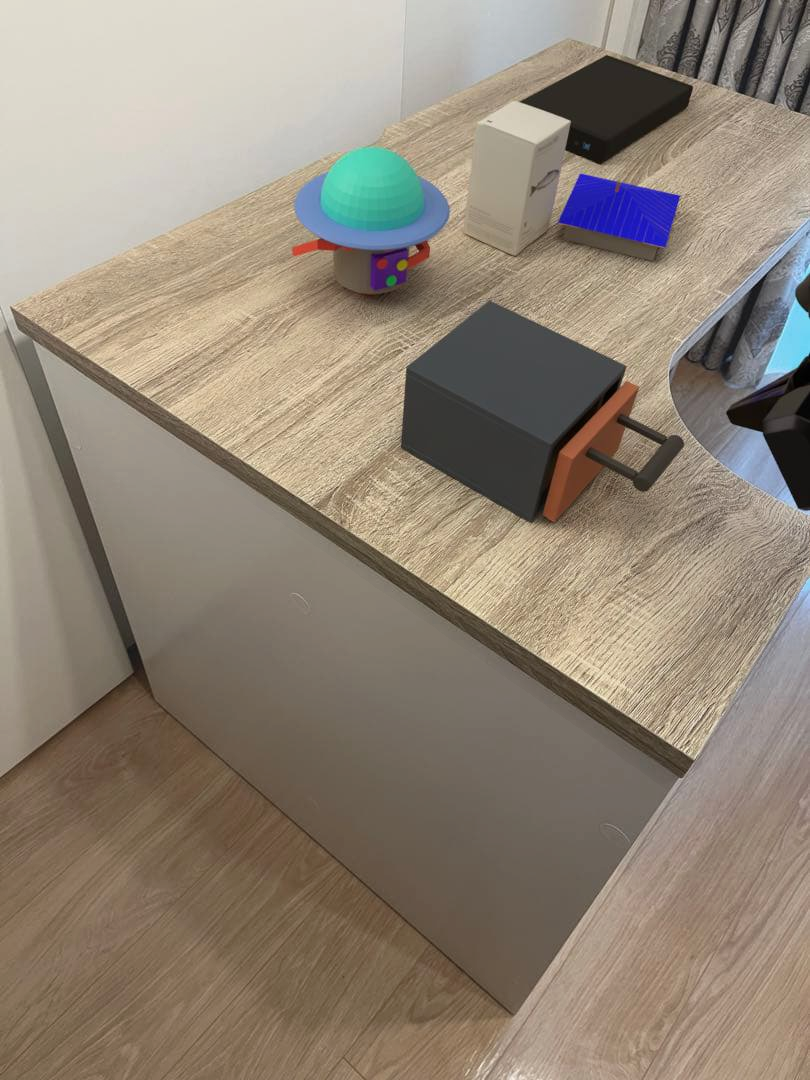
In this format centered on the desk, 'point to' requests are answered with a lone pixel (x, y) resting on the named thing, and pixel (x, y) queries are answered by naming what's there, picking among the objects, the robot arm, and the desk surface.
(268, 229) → the desk surface
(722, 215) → the desk surface
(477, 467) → the cabinet
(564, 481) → the drawer
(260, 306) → the desk surface
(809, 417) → the robot arm
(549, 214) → the white packaging box
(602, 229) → the roof
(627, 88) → the external hard drive
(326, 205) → the toy robot
